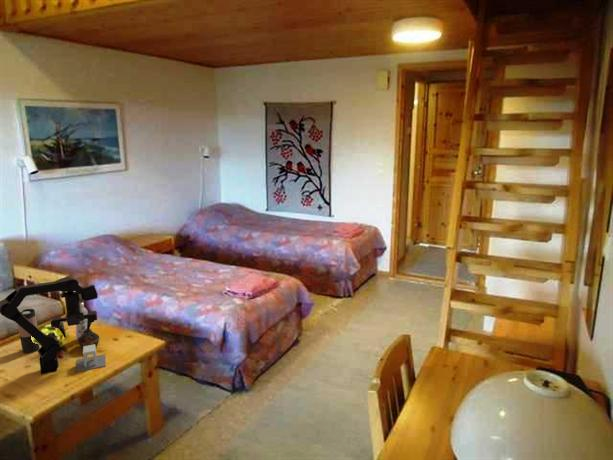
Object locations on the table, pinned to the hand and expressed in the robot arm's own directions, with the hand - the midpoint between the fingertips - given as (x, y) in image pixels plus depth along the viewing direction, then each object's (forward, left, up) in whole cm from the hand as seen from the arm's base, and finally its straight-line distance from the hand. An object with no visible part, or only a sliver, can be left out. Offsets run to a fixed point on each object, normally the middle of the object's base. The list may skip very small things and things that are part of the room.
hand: (76, 335), depth 206 cm
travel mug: (-22, +21, -12) cm, 33 cm away
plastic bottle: (+1, +23, -12) cm, 26 cm away
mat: (+5, -6, -12) cm, 14 cm away
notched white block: (+5, -6, -12) cm, 14 cm away
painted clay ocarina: (+4, +12, -12) cm, 18 cm away
